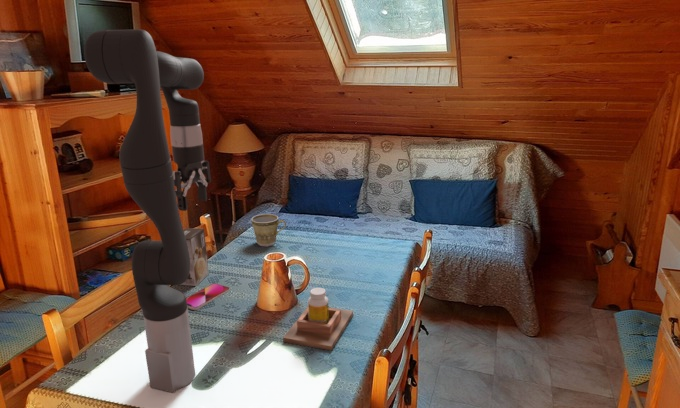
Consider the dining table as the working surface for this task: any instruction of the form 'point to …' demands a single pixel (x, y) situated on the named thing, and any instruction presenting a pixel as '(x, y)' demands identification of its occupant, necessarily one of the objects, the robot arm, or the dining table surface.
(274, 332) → the dining table surface
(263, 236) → the ceramic cup
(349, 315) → the socket board
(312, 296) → the supplement bottle
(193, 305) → the smartphone
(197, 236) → the coffee box
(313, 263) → the dining table surface
